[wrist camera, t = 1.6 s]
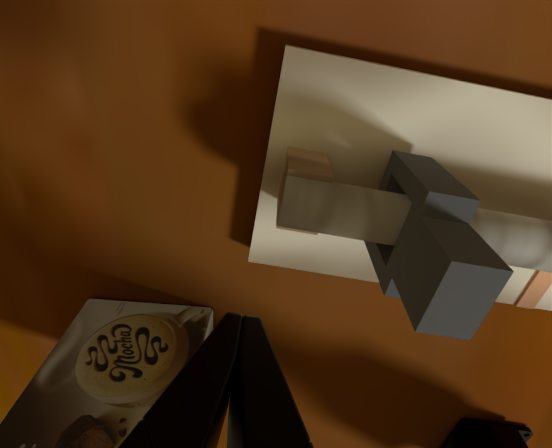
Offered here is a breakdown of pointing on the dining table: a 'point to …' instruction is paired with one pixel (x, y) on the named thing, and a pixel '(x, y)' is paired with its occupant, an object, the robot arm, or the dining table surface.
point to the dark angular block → (437, 251)
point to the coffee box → (105, 374)
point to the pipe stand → (374, 159)
